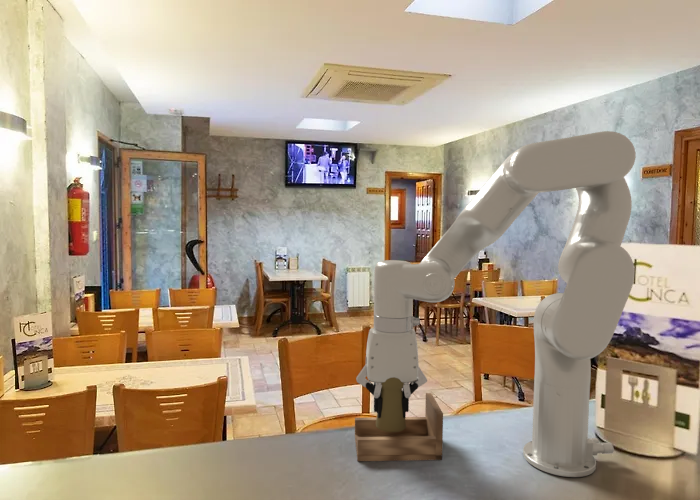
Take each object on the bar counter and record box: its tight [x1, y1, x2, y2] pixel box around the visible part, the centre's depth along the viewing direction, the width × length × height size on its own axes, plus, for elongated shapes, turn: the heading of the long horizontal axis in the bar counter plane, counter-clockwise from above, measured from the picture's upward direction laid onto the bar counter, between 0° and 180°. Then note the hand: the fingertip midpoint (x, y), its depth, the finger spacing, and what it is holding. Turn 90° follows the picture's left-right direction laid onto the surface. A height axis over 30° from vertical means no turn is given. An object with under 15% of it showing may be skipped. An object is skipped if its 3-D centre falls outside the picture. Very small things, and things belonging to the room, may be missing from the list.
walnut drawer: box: [354, 392, 444, 462], centre depth 95 cm, size 16×10×9 cm, turn 92°
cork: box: [376, 377, 406, 432], centre depth 95 cm, size 6×6×11 cm
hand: (390, 414), depth 95 cm, fingers closed on cork, 4 cm apart
